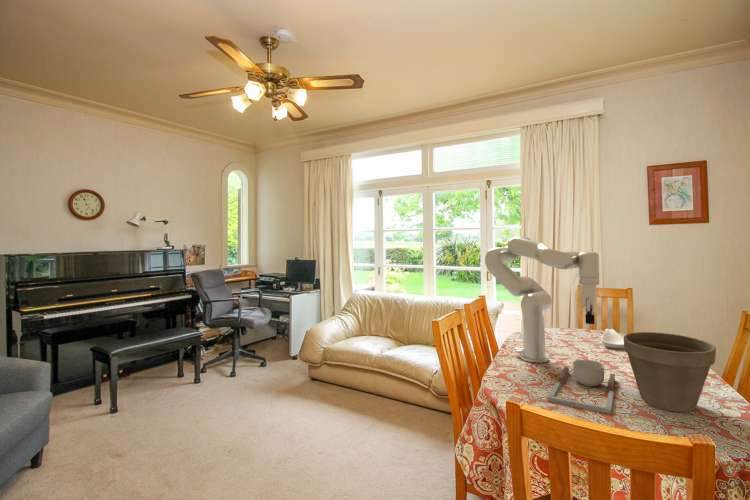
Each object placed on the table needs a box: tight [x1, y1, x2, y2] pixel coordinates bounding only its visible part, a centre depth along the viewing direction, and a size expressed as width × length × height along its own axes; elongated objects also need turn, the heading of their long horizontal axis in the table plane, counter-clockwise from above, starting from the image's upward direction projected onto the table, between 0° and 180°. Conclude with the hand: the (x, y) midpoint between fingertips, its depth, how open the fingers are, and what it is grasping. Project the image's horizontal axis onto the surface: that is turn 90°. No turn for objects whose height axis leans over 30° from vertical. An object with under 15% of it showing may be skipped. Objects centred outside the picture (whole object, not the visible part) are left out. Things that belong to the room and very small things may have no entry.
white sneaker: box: [600, 328, 624, 350], centre depth 199 cm, size 24×12×7 cm, turn 158°
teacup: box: [572, 358, 605, 387], centre depth 148 cm, size 14×11×8 cm
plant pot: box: [623, 331, 717, 413], centre depth 127 cm, size 25×25×22 cm
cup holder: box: [558, 366, 616, 393], centre depth 148 cm, size 18×15×2 cm
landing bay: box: [547, 381, 615, 415], centre depth 133 cm, size 19×17×2 cm
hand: (590, 323), depth 159 cm, fingers closed
